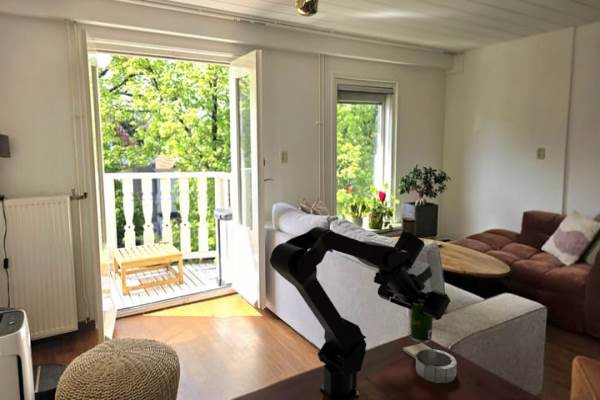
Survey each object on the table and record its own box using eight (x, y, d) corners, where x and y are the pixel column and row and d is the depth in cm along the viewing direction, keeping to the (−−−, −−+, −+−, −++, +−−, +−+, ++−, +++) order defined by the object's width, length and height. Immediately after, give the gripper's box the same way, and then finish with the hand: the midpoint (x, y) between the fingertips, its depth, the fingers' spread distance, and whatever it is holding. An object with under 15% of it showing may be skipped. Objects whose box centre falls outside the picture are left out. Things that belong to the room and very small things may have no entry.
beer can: (434, 337, 109) (436, 293, 108) (428, 345, 105) (430, 299, 103) (413, 332, 112) (415, 289, 110) (407, 340, 107) (409, 295, 106)
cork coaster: (419, 362, 105) (419, 359, 105) (402, 350, 111) (403, 347, 110) (439, 356, 107) (439, 353, 107) (422, 345, 113) (422, 342, 113)
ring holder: (434, 386, 94) (435, 372, 94) (408, 367, 102) (408, 354, 102) (463, 377, 98) (464, 363, 98) (436, 359, 106) (436, 346, 106)
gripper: (447, 261, 95) (472, 298, 103) (386, 245, 110) (411, 278, 118) (424, 302, 92) (451, 336, 100) (364, 280, 107) (391, 311, 115)
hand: (425, 313), depth 108 cm, fingers closed on beer can, 5 cm apart
